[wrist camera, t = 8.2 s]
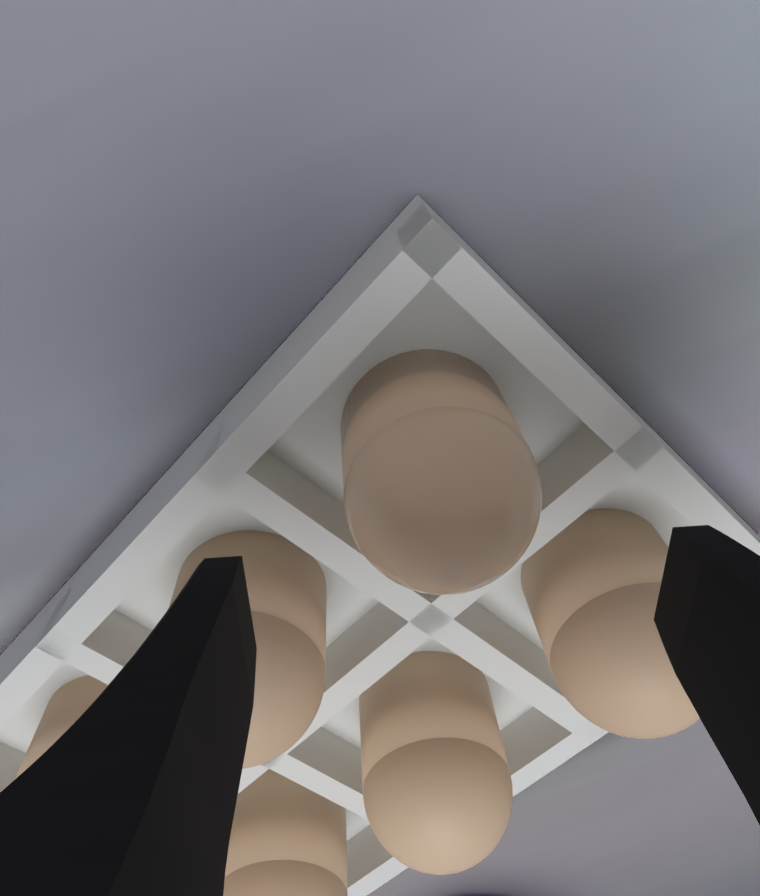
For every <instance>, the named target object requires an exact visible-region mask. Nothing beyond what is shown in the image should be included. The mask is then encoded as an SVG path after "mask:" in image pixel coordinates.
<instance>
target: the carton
mask: <svg viewBox="0 0 760 896" xmlns="http://www.w3.org/2000/svg"><path fill="white" fill-rule="evenodd" d="M422 349H435V350H443V351H448V352H452V353H456V354H458V355H461V356H463V357H466V358H468V359H470V360H471V361H473V362H475V363H476V364H478V365H479V366H480V367H481V368H483V369H484V370H485V371H486V372H487V373H488V374H489V375H490V376H491V378H492V379H493V380H494V382H495V383H496V385H497V387H498V388H499V390H500V392H501V394H502V396H503V398H504V400H505V402H506V404H507V406H508V408H509V410H510V411H511V413H512V415H513V417H514V419H515V421H516V423H517V425H518V427H519V429H520V431H521V433H522V435H523V436H524V438H525V440H526V442H527V444H528V446H529V448H530V450H531V452H532V454H533V456H534V458H535V461H536V464H537V467H538V470H539V473H540V479H541V486H542V507H541V514H540V520H539V523H538V526H537V529H536V532H535V535H534V537H533V539H532V541H531V543H530V545H529V547H528V548H527V550H526V551H525V553H524V554H523V555H522V557H521V558H520V559H519V560H518V562H517V563H516V564H515V565H514V566H513V567H512V568H511V569H510V570H509V571H508V572H507V573H505V574H504V575H502V576H501V577H500V578H498V579H497V580H495V581H493V582H492V583H490V584H488V585H485V586H483V587H481V588H479V589H476V590H473V591H469V592H465V593H460V594H453V595H434V594H426V593H421V592H417V591H414V590H411V589H408V588H406V587H404V586H401V585H399V584H397V583H395V582H393V581H392V580H390V579H388V578H387V577H386V576H384V575H383V574H382V573H381V572H379V571H378V570H377V569H376V568H375V567H374V566H373V565H372V564H371V563H370V562H369V561H368V560H367V559H366V557H365V556H364V555H363V553H362V552H361V550H360V549H359V548H358V546H357V544H356V542H355V540H354V538H353V536H352V534H351V531H350V529H349V526H348V523H347V519H346V513H345V507H344V497H343V473H342V449H341V419H342V413H343V409H344V406H345V403H346V401H347V399H348V396H349V394H350V393H351V391H352V390H353V388H354V386H355V385H356V384H357V383H358V381H359V380H360V379H361V378H362V377H363V376H364V375H365V374H366V373H367V372H368V371H369V370H371V369H372V368H373V367H375V366H376V365H378V364H379V363H381V362H383V361H384V360H386V359H388V358H390V357H393V356H395V355H398V354H401V353H405V352H409V351H414V350H422ZM699 525H709V526H711V527H713V528H715V529H717V530H718V531H720V532H722V533H724V534H725V535H727V536H729V537H730V538H732V539H734V540H735V541H737V542H739V543H740V544H742V545H743V546H745V547H747V548H748V549H750V550H751V551H753V552H755V553H756V554H758V555H759V556H760V536H759V535H758V534H757V533H756V532H755V531H754V530H753V529H752V528H751V527H750V526H749V525H748V524H747V523H746V522H745V521H744V520H743V519H742V518H741V517H740V516H739V515H738V514H737V513H736V512H735V511H734V510H733V509H732V508H731V507H730V506H729V505H728V504H727V503H726V502H725V501H724V500H723V499H722V498H721V497H720V496H719V495H718V494H717V493H716V492H715V491H714V490H713V489H712V488H711V487H710V486H709V485H708V484H707V483H706V482H705V481H704V480H703V479H702V478H701V477H700V476H699V475H698V474H697V473H696V472H695V471H694V470H693V469H692V468H691V467H690V466H689V465H688V464H687V463H686V462H685V461H684V460H683V459H682V458H681V457H680V456H679V455H678V454H677V453H676V452H675V451H674V450H673V449H672V448H671V447H670V446H669V445H668V444H667V443H666V442H665V441H664V440H663V439H662V438H661V437H660V436H659V435H658V434H657V433H656V432H655V431H654V430H653V429H652V428H651V427H650V426H649V425H648V424H647V423H646V422H645V421H644V420H643V419H642V418H641V417H640V416H639V415H638V414H637V413H636V412H635V411H634V410H633V409H632V408H631V407H630V406H629V405H628V404H627V403H626V402H625V401H624V400H623V399H622V398H621V397H620V396H619V395H618V394H617V393H616V392H615V391H614V390H613V389H612V388H611V387H610V386H609V385H608V384H607V383H606V382H605V381H604V380H603V379H602V378H601V377H600V376H599V375H598V374H597V373H596V372H595V371H594V370H593V369H592V368H591V367H590V366H589V365H588V364H587V363H586V362H585V361H584V360H583V359H582V358H581V357H580V356H579V355H578V354H577V353H576V352H575V351H574V350H573V349H572V348H571V347H570V346H569V345H568V344H567V343H566V342H565V341H564V340H563V339H562V338H561V337H560V336H559V335H558V334H557V333H556V332H555V331H554V330H553V329H552V328H551V327H550V326H549V325H548V324H547V323H546V322H545V321H544V320H543V319H542V318H541V317H540V316H539V315H538V314H537V313H536V312H535V311H534V310H533V309H532V308H531V307H530V306H529V305H528V304H527V303H526V302H525V301H524V300H523V299H522V298H521V297H520V296H519V295H518V294H517V293H516V292H515V291H514V290H513V289H512V288H511V287H510V286H509V285H508V284H507V283H506V282H505V281H504V280H503V279H502V278H501V277H500V276H499V275H498V274H497V273H496V272H495V271H494V270H493V269H492V268H491V267H490V266H489V265H488V264H487V263H486V262H485V261H484V260H483V259H482V258H481V257H480V256H479V255H478V254H477V253H476V252H475V251H474V250H473V249H472V248H471V247H470V246H469V245H468V244H467V243H466V242H465V241H464V240H463V239H462V238H461V237H460V236H459V235H458V234H457V233H456V232H455V231H454V230H453V229H452V228H451V227H450V226H449V225H448V224H447V223H446V222H445V221H444V220H443V219H442V218H441V217H440V216H439V215H438V214H437V213H436V212H435V211H434V210H433V209H432V208H431V207H430V206H429V205H428V204H427V203H426V202H425V201H424V200H423V199H422V198H421V197H420V196H419V195H418V194H417V195H416V196H415V197H414V199H413V200H412V201H411V202H410V203H409V204H408V205H407V206H406V207H405V208H404V210H403V211H402V212H401V213H400V214H399V215H398V216H397V217H396V218H395V220H394V221H393V222H392V223H391V224H390V225H389V226H388V227H387V228H386V230H385V231H384V232H383V233H382V234H381V235H380V236H379V237H378V238H377V239H376V241H375V242H374V243H373V244H372V245H371V246H370V247H369V248H368V249H367V251H366V252H365V253H364V254H363V255H362V256H361V257H360V258H359V259H358V260H357V262H356V263H355V264H354V265H353V266H352V267H351V268H350V269H349V270H348V272H347V273H346V274H345V275H344V276H343V277H342V278H341V279H340V280H339V281H338V283H337V284H336V285H335V286H334V287H333V288H332V289H331V290H330V291H329V293H328V294H327V295H326V296H325V297H324V298H323V299H322V300H321V301H320V302H319V304H318V305H317V306H316V307H315V308H314V309H313V310H312V311H311V312H310V314H309V315H308V316H307V317H306V318H305V319H304V320H303V321H302V322H301V324H300V325H299V326H298V327H297V328H296V329H295V330H294V331H293V332H292V333H291V335H290V336H289V337H288V338H287V339H286V340H285V341H284V342H283V343H282V345H281V346H280V347H279V348H278V349H277V350H276V351H275V352H274V353H273V354H272V356H271V357H270V358H269V359H268V360H267V361H266V362H265V363H264V364H263V366H262V367H261V368H260V369H259V370H258V371H257V372H256V373H255V374H254V375H253V377H252V378H251V379H250V380H249V381H248V382H247V383H246V384H245V385H244V387H243V388H242V389H241V390H240V391H239V392H238V393H237V394H236V395H235V396H234V398H233V399H232V400H231V401H230V402H229V403H228V404H227V405H226V406H225V408H224V409H223V410H222V411H221V412H220V413H219V414H218V415H217V416H216V417H215V419H214V420H213V421H212V422H211V423H210V424H209V425H208V426H207V427H206V429H205V430H204V431H203V432H202V433H201V434H200V435H199V436H198V437H197V439H196V440H195V441H194V442H193V443H192V444H191V445H190V446H189V447H188V448H187V450H186V451H185V452H184V453H183V454H182V455H181V456H180V457H179V458H178V460H177V461H176V462H175V463H174V464H173V465H172V466H171V467H170V468H169V469H168V471H167V472H166V473H165V474H164V475H163V476H162V477H161V478H160V479H159V481H158V482H157V483H156V484H155V485H154V486H153V487H152V488H151V489H150V490H149V492H148V493H147V494H146V495H145V496H144V497H143V498H142V499H141V500H140V502H139V503H138V504H137V505H136V506H135V507H134V508H133V509H132V510H131V511H130V513H129V514H128V515H127V516H126V517H125V518H124V519H123V520H122V521H121V523H120V524H119V525H118V526H117V527H116V528H115V529H114V530H113V531H112V532H111V534H110V535H109V536H108V537H107V538H106V539H105V540H104V541H103V542H102V544H101V545H100V546H99V547H98V548H97V549H96V550H95V551H94V552H93V554H92V555H91V556H90V557H89V558H88V559H87V560H86V561H85V562H84V563H83V565H82V566H81V567H80V568H79V569H78V570H77V571H76V572H75V573H74V575H73V576H72V577H71V578H70V579H69V580H68V581H67V582H66V583H65V584H64V586H63V587H62V588H61V589H60V590H59V591H58V592H57V593H56V594H55V596H54V597H53V598H52V599H51V600H50V601H49V602H48V603H47V604H46V605H45V607H44V608H43V609H42V610H41V611H40V612H39V613H38V614H37V615H36V617H35V618H34V619H33V620H32V621H31V622H30V623H29V624H28V625H27V626H26V628H25V629H24V630H23V631H22V632H21V633H20V634H19V635H18V636H17V638H16V639H15V640H14V641H13V642H12V643H11V644H10V645H9V646H8V648H7V649H6V650H5V651H4V652H3V653H2V654H1V655H0V792H1V791H3V790H4V789H5V788H6V787H7V786H8V785H9V784H10V783H12V782H13V781H14V780H15V779H16V778H17V777H18V776H19V775H21V774H22V773H23V772H24V771H25V770H26V769H27V768H28V767H29V766H31V765H32V764H33V763H34V762H35V761H36V760H37V759H38V758H39V757H40V756H41V755H42V754H43V753H45V752H46V751H47V750H48V749H49V748H50V747H51V746H52V745H53V744H54V743H55V742H56V741H57V740H58V739H59V738H60V737H61V736H62V735H63V734H64V733H65V732H66V731H67V730H68V729H69V728H70V727H71V726H72V725H73V724H74V722H75V721H76V720H77V719H78V718H79V717H80V716H81V715H82V714H83V713H84V712H85V711H86V710H87V709H88V708H89V706H90V705H91V704H92V703H93V702H94V701H95V700H96V699H97V698H98V697H99V695H100V694H101V693H102V692H103V691H104V690H105V688H106V687H107V686H108V685H109V684H110V682H111V681H112V680H113V679H114V678H115V677H116V675H117V674H118V673H119V672H120V671H121V669H122V668H123V667H124V666H125V665H126V664H127V662H128V661H129V660H130V659H131V658H132V656H133V655H134V654H135V653H136V651H137V650H138V649H139V647H140V646H141V645H142V644H143V642H144V641H145V640H146V638H147V637H148V636H149V634H150V633H151V632H152V630H153V629H154V628H155V626H156V625H157V624H158V622H159V621H160V620H161V618H162V617H163V616H164V614H165V613H166V612H167V610H168V609H169V607H170V606H171V605H172V603H173V602H174V600H175V599H176V597H177V596H178V595H179V593H180V592H181V590H182V589H183V587H184V586H185V584H186V583H187V581H188V580H189V578H190V577H191V575H192V574H193V572H194V571H195V569H196V568H197V566H198V565H199V564H200V563H201V562H202V561H203V560H204V559H205V558H217V557H232V556H242V559H243V565H244V571H245V578H246V584H247V590H248V596H249V603H250V609H251V615H252V621H253V628H254V634H255V640H256V646H257V654H256V672H255V689H254V704H253V711H252V717H251V723H250V728H249V734H248V740H247V745H246V751H245V757H244V762H243V768H242V773H241V779H240V784H239V790H238V796H237V801H236V807H235V812H234V818H233V823H232V829H231V834H230V840H229V848H228V855H227V862H226V869H225V880H224V892H223V896H367V895H368V894H370V893H371V892H373V891H374V890H376V889H377V888H378V887H380V886H381V885H383V884H384V883H386V882H387V881H389V880H390V879H392V878H393V877H395V876H396V875H398V874H399V873H401V872H402V871H404V870H405V869H407V868H408V867H410V868H411V869H414V870H416V871H419V872H423V873H427V874H433V875H448V874H454V873H458V872H462V871H464V870H467V869H469V868H471V867H473V866H475V865H476V864H478V863H479V862H481V861H482V860H483V859H485V858H486V857H487V856H488V855H489V854H490V853H491V852H492V851H493V850H494V848H495V847H496V846H497V844H498V843H499V841H500V840H501V838H502V836H503V834H504V832H505V830H506V828H507V825H508V822H509V819H510V815H511V810H512V802H513V796H515V795H516V794H518V793H519V792H521V791H522V790H524V789H525V788H527V787H528V786H530V785H531V784H533V783H534V782H536V781H537V780H538V779H540V778H541V777H543V776H544V775H546V774H547V773H549V772H550V771H552V770H553V769H555V768H556V767H558V766H559V765H561V764H562V763H564V762H565V761H567V760H568V759H570V758H571V757H573V756H574V755H576V754H577V753H578V752H580V751H581V750H583V749H584V748H586V747H587V746H589V745H590V744H592V743H593V742H595V741H596V740H598V739H599V738H601V737H602V736H604V735H605V734H607V733H608V732H611V733H614V734H617V735H620V736H624V737H629V738H638V739H653V738H660V737H665V736H669V735H672V734H675V733H677V732H680V731H682V730H684V729H686V728H687V727H689V726H691V725H692V724H694V723H695V722H697V721H698V720H699V719H700V717H699V716H698V714H697V712H696V710H695V708H694V707H693V705H692V703H691V701H690V699H689V698H688V696H687V694H686V692H685V691H684V689H683V687H682V685H681V683H680V681H679V680H678V678H677V676H676V674H675V672H674V669H673V667H672V665H671V662H670V660H669V658H668V655H667V653H666V651H665V648H664V645H663V643H662V640H661V638H660V635H659V632H658V630H657V627H656V625H655V622H654V615H655V610H656V606H657V601H658V596H659V591H660V586H661V581H662V577H663V572H664V567H665V562H666V557H667V552H668V548H669V543H670V538H671V533H672V528H673V527H684V526H699Z"/></svg>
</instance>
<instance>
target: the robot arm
mask: <svg viewBox="0 0 760 896" xmlns="http://www.w3.org/2000/svg"><path fill="white" fill-rule="evenodd" d="M654 622H655V625H656V627H657V630H658V632H659V635H660V638H661V640H662V643H663V645H664V648H665V651H666V653H667V655H668V658H669V660H670V662H671V665H672V667H673V669H674V672H675V674H676V676H677V678H678V680H679V681H680V683H681V685H682V687H683V689H684V691H685V692H686V694H687V696H688V698H689V699H690V701H691V703H692V705H693V707H694V708H695V710H696V712H697V714H698V716H699V717H700V719H701V721H702V723H703V724H704V726H705V728H706V730H707V731H708V733H709V735H710V736H711V738H712V740H713V742H714V743H715V745H716V747H717V749H718V750H719V752H720V754H721V756H722V757H723V759H724V761H725V763H726V764H727V766H728V768H729V770H730V771H731V773H732V775H733V777H734V778H735V780H736V782H737V784H738V785H739V787H740V789H741V791H742V792H743V794H744V796H745V798H746V800H747V802H748V803H749V805H750V807H751V809H752V811H753V813H754V815H755V817H756V819H757V821H758V823H759V825H760V556H759V555H758V554H756V553H755V552H753V551H751V550H750V549H748V548H747V547H745V546H743V545H742V544H740V543H739V542H737V541H735V540H734V539H732V538H730V537H729V536H727V535H725V534H724V533H722V532H720V531H718V530H717V529H715V528H713V527H711V526H709V525H699V526H684V527H673V528H672V533H671V538H670V543H669V548H668V552H667V557H666V562H665V567H664V572H663V577H662V581H661V586H660V591H659V596H658V601H657V606H656V610H655V615H654ZM256 654H257V646H256V640H255V634H254V628H253V621H252V615H251V609H250V603H249V596H248V590H247V584H246V578H245V571H244V565H243V559H242V556H232V557H217V558H205V559H204V560H203V561H202V562H201V563H200V564H199V565H198V566H197V568H196V569H195V571H194V572H193V574H192V575H191V577H190V578H189V580H188V581H187V583H186V584H185V586H184V587H183V589H182V590H181V592H180V593H179V595H178V596H177V597H176V599H175V600H174V602H173V603H172V605H171V606H170V607H169V609H168V610H167V612H166V613H165V614H164V616H163V617H162V618H161V620H160V621H159V622H158V624H157V625H156V626H155V628H154V629H153V630H152V632H151V633H150V634H149V636H148V637H147V638H146V640H145V641H144V642H143V644H142V645H141V646H140V647H139V649H138V650H137V651H136V653H135V654H134V655H133V656H132V658H131V659H130V660H129V661H128V662H127V664H126V665H125V666H124V667H123V668H122V669H121V671H120V672H119V673H118V674H117V675H116V677H115V678H114V679H113V680H112V681H111V682H110V684H109V685H108V686H107V687H106V688H105V690H104V691H103V692H102V693H101V694H100V695H99V697H98V698H97V699H96V700H95V701H94V702H93V703H92V704H91V705H90V706H89V708H88V709H87V710H86V711H85V712H84V713H83V714H82V715H81V716H80V717H79V718H78V719H77V720H76V721H75V722H74V724H73V725H72V726H71V727H70V728H69V729H68V730H67V731H66V732H65V733H64V734H63V735H62V736H61V737H60V738H59V739H58V740H57V741H56V742H55V743H54V744H53V745H52V746H51V747H50V748H49V749H48V750H47V751H46V752H45V753H43V754H42V755H41V756H40V757H39V758H38V759H37V760H36V761H35V762H34V763H33V764H32V765H31V766H29V767H28V768H27V769H26V770H25V771H24V772H23V773H22V774H21V775H19V776H18V777H17V778H16V779H15V780H14V781H13V782H12V783H10V784H9V785H8V786H7V787H6V788H5V789H4V790H3V791H1V792H0V896H223V892H224V880H225V869H226V862H227V855H228V848H229V840H230V834H231V829H232V823H233V818H234V812H235V807H236V801H237V796H238V790H239V784H240V779H241V773H242V768H243V762H244V757H245V751H246V745H247V740H248V734H249V728H250V723H251V717H252V711H253V704H254V689H255V672H256Z"/></svg>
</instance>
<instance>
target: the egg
mask: <svg viewBox="0 0 760 896" xmlns="http://www.w3.org/2000/svg"><path fill="white" fill-rule="evenodd" d="M341 449H342V473H343V497H344V507H345V513H346V519H347V523H348V526H349V529H350V531H351V534H352V536H353V538H354V540H355V542H356V544H357V546H358V548H359V549H360V550H361V552H362V553H363V555H364V556H365V557H366V559H367V560H368V561H369V562H370V563H371V564H372V565H373V566H374V567H375V568H376V569H377V570H378V571H379V572H381V573H382V574H383V575H384V576H386V577H387V578H388V579H390V580H392V581H393V582H395V583H397V584H399V585H401V586H404V587H406V588H408V589H411V590H414V591H417V592H421V593H426V594H434V595H453V594H460V593H465V592H469V591H473V590H476V589H479V588H481V587H483V586H485V585H488V584H490V583H492V582H493V581H495V580H497V579H498V578H500V577H501V576H502V575H504V574H505V573H507V572H508V571H509V570H510V569H511V568H512V567H513V566H514V565H515V564H516V563H517V562H518V560H519V559H520V558H521V557H522V555H523V554H524V553H525V551H526V550H527V548H528V547H529V545H530V543H531V541H532V539H533V537H534V535H535V532H536V529H537V526H538V523H539V520H540V514H541V507H542V486H541V479H540V473H539V470H538V467H537V464H536V461H535V458H534V456H533V454H532V452H531V450H530V448H529V446H528V444H527V442H526V440H525V438H524V436H523V435H522V433H521V431H520V429H519V427H518V425H517V423H516V421H515V419H514V417H513V415H512V413H511V411H510V410H509V408H508V406H507V404H506V402H505V400H504V398H503V396H502V394H501V392H500V390H499V388H498V387H497V385H496V383H495V382H494V380H493V379H492V378H491V376H490V375H489V374H488V373H487V372H486V371H485V370H484V369H483V368H481V367H480V366H479V365H478V364H476V363H475V362H473V361H471V360H470V359H468V358H466V357H463V356H461V355H458V354H456V353H452V352H448V351H443V350H435V349H422V350H414V351H409V352H405V353H401V354H398V355H395V356H393V357H390V358H388V359H386V360H384V361H383V362H381V363H379V364H378V365H376V366H375V367H373V368H372V369H371V370H369V371H368V372H367V373H366V374H365V375H364V376H363V377H362V378H361V379H360V380H359V381H358V383H357V384H356V385H355V386H354V388H353V390H352V391H351V393H350V394H349V396H348V399H347V401H346V403H345V406H344V409H343V413H342V419H341Z"/></svg>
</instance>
